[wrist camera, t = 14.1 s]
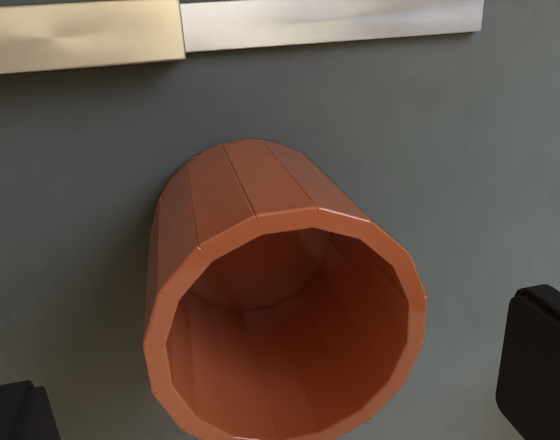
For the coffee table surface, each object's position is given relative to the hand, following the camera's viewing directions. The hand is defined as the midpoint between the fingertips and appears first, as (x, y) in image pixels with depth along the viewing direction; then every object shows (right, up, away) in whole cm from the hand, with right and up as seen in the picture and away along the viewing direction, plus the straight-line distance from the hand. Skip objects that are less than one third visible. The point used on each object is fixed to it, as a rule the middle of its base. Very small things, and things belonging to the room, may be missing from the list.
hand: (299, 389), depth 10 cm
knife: (-2, +9, +6) cm, 11 cm away
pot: (-2, +3, +8) cm, 9 cm away
